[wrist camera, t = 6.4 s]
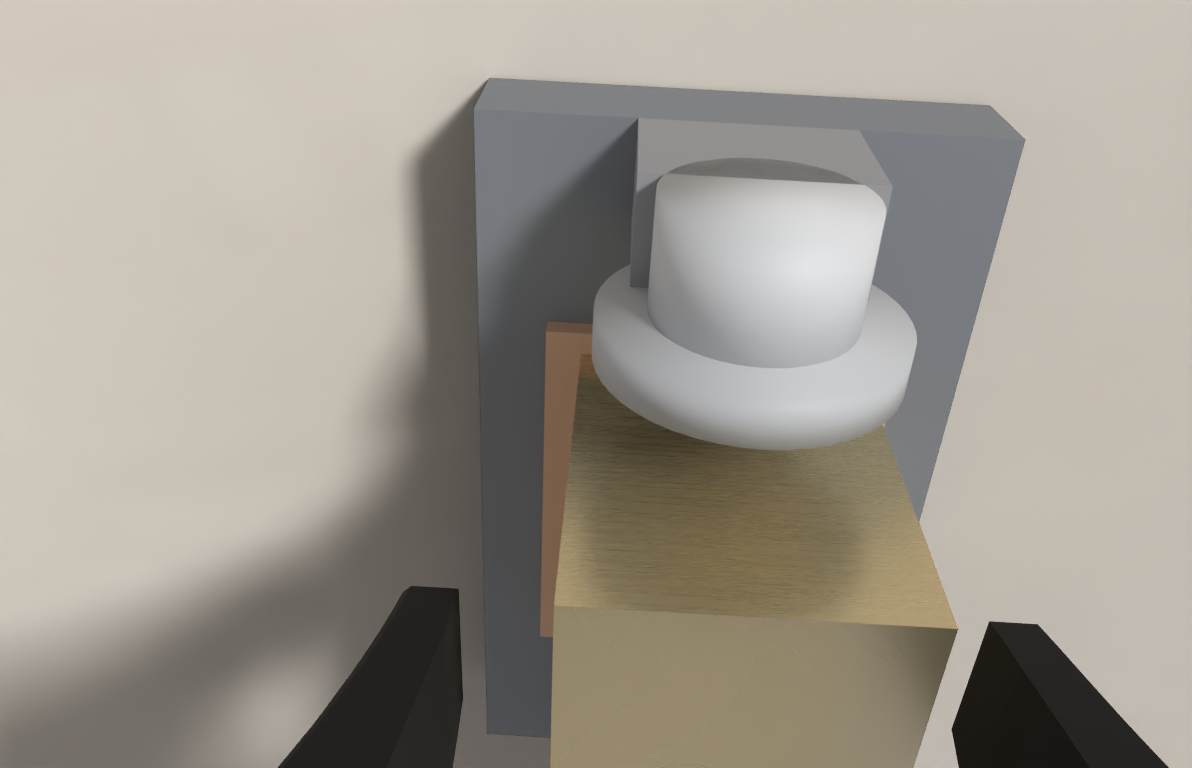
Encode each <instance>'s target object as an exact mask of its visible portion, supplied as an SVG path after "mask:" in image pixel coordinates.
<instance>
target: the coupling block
mask: <svg viewBox="0 0 1192 768" xmlns="http://www.w3.org/2000/svg"><path fill="white" fill-rule="evenodd" d="M957 630H958V628H957V625H956V622H955V620H954V617H953V614H952V611H951V609H950V606H949V603H948V600H947V598H946V595H945V592H944V590H943V587H942V584H941V581H940V579H939V576H938V573H937V570H936V568H935V565H934V562H933V560H932V557H931V554H930V551H929V549H928V546H927V543H926V541H925V538H924V535H923V532H922V530H921V527H920V524H919V521H918V519H917V516H916V513H915V511H914V508H913V505H912V502H911V500H910V497H909V494H908V491H907V489H906V486H905V483H904V481H903V478H902V475H901V472H900V470H899V467H898V464H897V461H896V459H895V456H894V453H893V451H892V448H891V445H890V442H889V440H888V437H887V434H886V431H885V429H884V426H883V425H881V426H880V427H879V428H877V429H875V430H873V431H871V432H869V433H867V434H865V435H863V436H860V437H858V438H855V439H852V440H849V441H846V442H842V443H838V444H834V445H830V446H824V447H817V448H810V449H796V450H761V449H751V448H740V447H734V446H728V445H722V444H716V443H712V442H708V441H704V440H700V439H696V438H692V437H689V436H686V435H683V434H681V433H678V432H675V431H672V430H669V429H667V428H665V427H662V426H660V425H658V424H655V423H653V422H651V421H649V420H648V419H646V418H644V417H642V416H640V415H638V414H637V413H635V412H634V411H632V410H631V409H629V408H628V407H626V406H625V405H624V404H622V403H621V402H620V401H619V400H618V399H616V398H615V397H614V396H613V395H612V394H611V393H610V392H609V391H608V390H607V388H606V387H605V386H604V385H603V384H602V382H601V381H600V379H599V377H598V375H597V373H596V372H595V369H594V365H593V362H592V355H590V354H581V359H580V368H579V377H578V386H577V396H576V405H575V414H574V424H573V433H572V442H571V451H570V461H569V470H568V479H567V488H566V498H565V507H564V516H563V526H562V535H561V544H560V553H559V563H558V572H557V581H556V590H555V600H554V622H553V665H552V708H551V752H550V768H913V767H914V764H915V761H916V757H917V754H918V751H919V748H920V745H921V742H922V739H923V736H924V733H925V730H926V726H927V723H928V720H929V717H930V714H931V711H932V708H933V705H934V702H935V699H936V695H937V692H938V689H939V686H940V683H941V680H942V677H943V674H944V671H945V668H946V664H947V661H948V658H949V655H950V652H951V649H952V646H953V643H954V640H955V637H956V634H957Z"/></svg>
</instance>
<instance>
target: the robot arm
mask: <svg viewBox="0 0 1192 768" xmlns="http://www.w3.org/2000/svg"><path fill="white" fill-rule="evenodd" d="M462 701H463V689H462V664H461V639H460V614H459V589H451V588H435V587H419V586H411V587H409V588H408V589H407V590H405V591H404V592H403V593H402V595H401V597H400V599H399V600H398V602H397V604H396V606H395V607H394V609H393V611H392V612H391V614H390V616H389V617H388V619H387V621H386V622H385V624H384V625H383V627H382V629H381V630H380V632H379V633H378V635H377V636H376V638H375V639H374V641H373V642H372V644H371V645H370V647H369V648H368V650H367V651H366V653H365V654H364V656H363V657H362V659H361V660H360V662H359V663H358V665H357V666H356V667H355V669H354V670H353V672H352V673H351V674H350V676H349V677H348V679H347V680H346V681H345V683H344V684H343V685H342V687H341V688H340V689H339V691H338V692H337V693H336V695H335V696H334V698H333V699H332V700H331V702H330V703H329V704H328V706H327V707H326V708H325V710H324V711H323V713H322V714H321V715H320V716H319V718H318V719H317V720H316V722H315V723H314V724H313V725H312V727H311V728H310V729H309V730H308V732H307V733H306V734H305V735H304V736H303V738H302V739H301V740H300V741H299V742H298V744H297V745H296V746H295V747H294V749H293V750H292V751H291V752H290V753H289V755H288V756H287V757H286V758H285V759H284V761H283V762H282V763H281V764H280V766H279V767H278V768H453V761H454V755H455V748H456V742H457V735H458V728H459V722H460V715H461V708H462ZM952 733H953V738H954V744H955V749H956V754H957V760H958V765H959V768H1169V767H1168V766H1167V765H1166V764H1165V763H1164V762H1163V761H1162V760H1161V759H1160V758H1159V757H1158V756H1157V755H1156V754H1155V753H1154V752H1153V751H1152V750H1151V749H1150V747H1149V746H1148V745H1147V744H1146V743H1145V742H1144V741H1143V740H1142V739H1141V738H1140V737H1139V736H1138V735H1137V734H1136V733H1135V731H1134V730H1133V729H1132V728H1131V727H1130V726H1129V725H1128V724H1127V723H1126V722H1125V721H1124V720H1123V718H1122V717H1121V716H1120V715H1119V714H1118V713H1117V712H1116V711H1115V710H1114V709H1113V707H1112V706H1111V705H1110V704H1109V703H1108V702H1107V701H1106V700H1105V699H1104V698H1103V696H1102V695H1101V694H1100V693H1099V692H1098V691H1097V690H1096V689H1095V688H1094V686H1093V685H1092V684H1091V683H1090V682H1089V681H1088V680H1087V679H1086V678H1085V676H1084V675H1083V674H1082V673H1081V672H1080V671H1079V670H1078V669H1077V667H1076V666H1075V665H1074V664H1073V663H1072V662H1071V661H1070V660H1069V658H1068V657H1067V656H1066V655H1065V654H1064V653H1063V652H1062V651H1061V649H1060V648H1059V647H1058V646H1057V645H1056V644H1055V643H1054V642H1053V641H1052V640H1051V638H1050V637H1049V636H1048V635H1047V634H1046V633H1045V632H1044V631H1043V630H1042V629H1041V628H1040V626H1039V625H1038V624H1022V623H1006V622H989V624H988V627H987V630H986V633H985V635H984V638H983V641H982V644H981V647H980V650H979V653H978V655H977V658H976V661H975V664H974V667H973V670H972V673H971V675H970V678H969V681H968V684H967V687H966V690H965V693H964V695H963V698H962V701H961V704H960V707H959V710H958V713H957V715H956V718H955V721H954V724H953V727H952Z"/></svg>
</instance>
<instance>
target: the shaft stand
mask: <svg viewBox="0 0 1192 768" xmlns="http://www.w3.org/2000/svg"><path fill="white" fill-rule="evenodd" d="M1024 143H1025V139H1024V138H1023V137H1022V136H1021V135H1020V134H1019V133H1018V132H1017V131H1016V130H1015V129H1014V128H1013V127H1012V126H1011V125H1010V124H1009V123H1008V122H1007V121H1006V120H1004V119H1003V118H1002V117H1001V116H1000V115H999V114H998V113H997V112H996V111H995V110H994V109H993V108H992V107H991V106H988V105H970V104H951V103H933V102H915V101H897V100H879V99H861V98H843V97H824V96H806V95H788V94H770V93H752V92H734V91H716V90H698V89H679V88H661V87H643V86H625V85H607V84H589V83H571V82H552V81H534V80H516V79H498V78H489V80H488V82H487V84H486V86H485V87H484V89H483V91H482V93H481V95H480V97H479V99H478V101H477V103H476V105H475V107H474V148H475V194H476V240H477V286H478V333H479V379H480V425H481V471H482V517H483V564H484V610H485V656H486V702H487V734H501V735H517V736H533V737H548V738H551V708H552V665H553V622H554V600H555V590H556V581H557V572H558V563H559V553H560V544H561V535H562V526H563V516H564V507H565V498H566V488H567V479H568V470H569V461H570V451H571V442H572V433H573V424H574V414H575V405H576V396H577V386H578V377H579V368H580V359H581V354H590V355H592V362H593V365H594V369H595V372H596V373H597V375H598V377H599V379H600V381H601V382H602V384H603V385H604V386H605V387H606V388H607V390H608V391H609V392H610V393H611V394H612V395H613V396H614V397H615V398H616V399H618V400H619V401H620V402H621V403H622V404H624V405H625V406H626V407H628V408H629V409H631V410H632V411H634V412H635V413H637V414H638V415H640V416H642V417H644V418H646V419H648V420H649V421H651V422H653V423H655V424H658V425H660V426H662V427H665V428H667V429H669V430H672V431H675V432H678V433H681V434H683V435H686V436H689V437H692V438H696V439H700V440H704V441H708V442H712V443H716V444H722V445H728V446H734V447H740V448H751V449H761V450H796V449H810V448H817V447H824V446H830V445H834V444H838V443H842V442H846V441H849V440H852V439H855V438H858V437H860V436H863V435H865V434H867V433H869V432H871V431H873V430H875V429H877V428H879V427H880V426H881V425H883V426H884V429H885V431H886V434H887V437H888V440H889V442H890V445H891V448H892V451H893V453H894V456H895V459H896V461H897V464H898V467H899V470H900V472H901V475H902V478H903V481H904V483H905V486H906V489H907V491H908V494H909V497H910V500H911V502H912V505H913V508H914V511H915V513H916V516H917V519H918V521H919V520H920V517H921V513H922V510H923V506H924V502H925V499H926V495H927V492H928V488H929V484H930V481H931V477H932V474H933V470H934V466H935V463H936V459H937V456H938V452H939V448H940V445H941V441H942V438H943V434H944V430H945V427H946V423H947V420H948V416H949V412H950V409H951V405H952V402H953V398H954V394H955V391H956V387H957V384H958V380H959V376H960V373H961V369H962V366H963V362H964V358H965V355H966V351H967V348H968V344H969V340H970V337H971V333H972V330H973V326H974V323H975V319H976V315H977V312H978V308H979V305H980V301H981V297H982V294H983V290H984V287H985V283H986V279H987V276H988V272H989V269H990V265H991V261H992V258H993V254H994V251H995V247H996V243H997V240H998V236H999V233H1000V229H1001V225H1002V222H1003V218H1004V215H1005V211H1006V207H1007V204H1008V200H1009V197H1010V193H1011V189H1012V186H1013V182H1014V179H1015V175H1016V171H1017V168H1018V164H1019V161H1020V157H1021V153H1022V150H1023V146H1024Z"/></svg>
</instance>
